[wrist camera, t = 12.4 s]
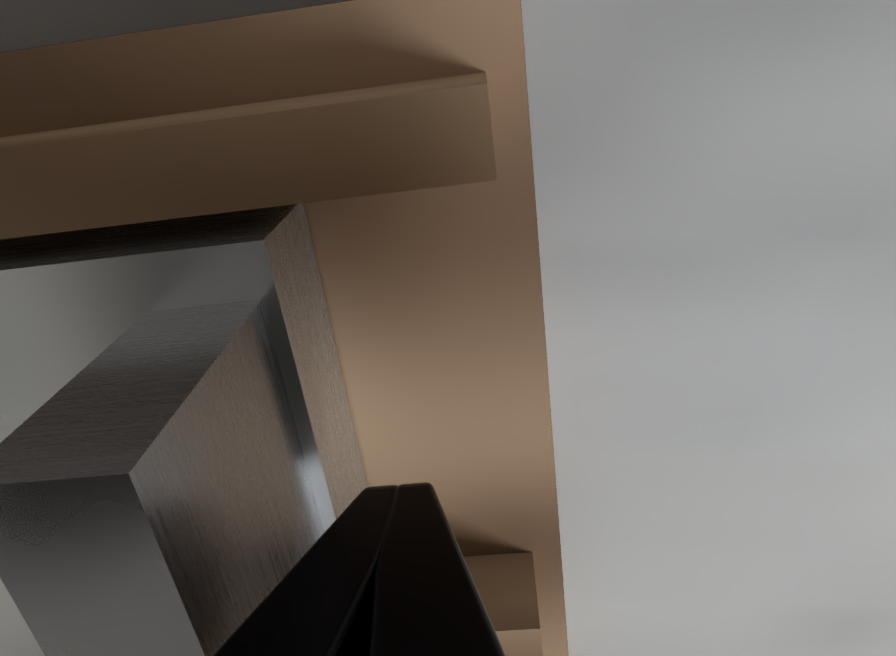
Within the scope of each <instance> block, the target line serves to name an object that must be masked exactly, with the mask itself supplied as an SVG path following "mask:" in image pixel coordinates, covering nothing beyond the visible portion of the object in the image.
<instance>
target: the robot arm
mask: <svg viewBox="0 0 896 656" xmlns="http://www.w3.org/2000/svg"><path fill="white" fill-rule="evenodd" d="M213 656H506V655H505V653H504V650H503V648H502V646H501V643H500V641H499V639H498V636H497V634H496V632H495V629H494V627H493V625H492V622H491V620H490V618H489V615H488V613H487V610H486V608H485V606H484V603H483V601H482V599H481V596H480V594H479V592H478V589H477V587H476V585H475V582H474V580H473V578H472V575H471V573H470V571H469V568H468V566H467V564H466V561H465V559H464V557H463V554H462V552H461V550H460V547H459V545H458V543H457V540H456V538H455V536H454V533H453V531H452V529H451V526H450V524H449V522H448V519H447V517H446V515H445V512H444V510H443V508H442V505H441V503H440V501H439V498H438V496H437V494H436V491H435V489H434V487H433V485H432V484H431V483H429V482H422V483H409V484H401V485H399V486H398V485H383V486H371V487H367V488H365V489H364V490H362V491H361V492H360V493H359V495H358V496H357V497H356V498H355V499H354V500H353V501H352V502H351V503H350V505H349V506H348V507H347V508H346V509H345V510H344V511H343V512H342V513H341V514H340V516H339V517H338V518H337V519H336V520H335V521H334V522H333V523H332V524H331V526H330V527H329V528H328V529H327V530H326V531H325V532H324V533H323V534H322V535H321V537H320V538H319V539H318V540H317V541H316V542H315V543H314V544H313V545H312V547H311V548H310V549H309V550H308V551H307V552H306V553H305V554H304V555H303V556H302V558H301V559H300V560H299V561H298V562H297V563H296V564H295V565H294V566H293V568H292V569H291V570H290V571H289V572H288V573H287V574H286V575H285V576H284V577H283V579H282V580H281V581H280V582H279V583H278V584H277V585H276V586H275V587H274V589H273V590H272V591H271V592H270V593H269V594H268V595H267V596H266V597H265V598H264V600H263V601H262V602H261V603H260V604H259V605H258V606H257V607H256V608H255V610H254V611H253V612H252V613H251V614H250V615H249V616H248V617H247V618H246V619H245V621H244V622H243V623H242V624H241V625H240V626H239V627H238V628H237V629H236V631H235V632H234V633H233V634H232V635H231V636H230V637H229V638H228V639H227V640H226V642H225V643H224V644H223V645H222V646H221V647H220V648H219V649H218V650H217V652H216V653H215V654H214V655H213Z"/></svg>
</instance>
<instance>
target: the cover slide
mask: <svg viewBox="0 0 896 656" xmlns="http://www.w3.org/2000/svg"><path fill="white" fill-rule="evenodd" d="M367 487H368V486H367V482H366V478H365V473H364V469H363V464H362V460H361V456H360V451H359V447H358V442H357V438H356V434H355V429H354V425H353V420H352V416H351V412H350V407H349V403H348V398H347V394H346V390H345V385H344V381H343V376H342V372H341V368H340V363H339V359H338V355H337V350H336V346H335V341H334V337H333V333H332V328H331V324H330V319H329V315H328V311H327V306H326V302H325V297H324V293H323V289H322V284H321V280H320V275H319V271H318V267H317V262H316V258H315V253H314V249H313V245H312V240H311V236H310V232H309V227H308V223H307V218H306V214H305V210H304V205H303V203H301V204H293V205H285V206H276V207H268V208H259V209H251V210H243V211H234V212H226V213H218V214H209V215H201V216H193V217H184V218H176V219H168V220H159V221H151V222H142V223H134V224H126V225H117V226H109V227H101V228H92V229H84V230H76V231H67V232H59V233H50V234H42V235H34V236H25V237H17V238H9V239H0V656H213V655H214V654H215V653H216V652H217V650H218V649H219V648H220V647H221V646H222V645H223V644H224V643H225V642H226V640H227V639H228V638H229V637H230V636H231V635H232V634H233V633H234V632H235V631H236V629H237V628H238V627H239V626H240V625H241V624H242V623H243V622H244V621H245V619H246V618H247V617H248V616H249V615H250V614H251V613H252V612H253V611H254V610H255V608H256V607H257V606H258V605H259V604H260V603H261V602H262V601H263V600H264V598H265V597H266V596H267V595H268V594H269V593H270V592H271V591H272V590H273V589H274V587H275V586H276V585H277V584H278V583H279V582H280V581H281V580H282V579H283V577H284V576H285V575H286V574H287V573H288V572H289V571H290V570H291V569H292V568H293V566H294V565H295V564H296V563H297V562H298V561H299V560H300V559H301V558H302V556H303V555H304V554H305V553H306V552H307V551H308V550H309V549H310V548H311V547H312V545H313V544H314V543H315V542H316V541H317V540H318V539H319V538H320V537H321V535H322V534H323V533H324V532H325V531H326V530H327V529H328V528H329V527H330V526H331V524H332V523H333V522H334V521H335V520H336V519H337V518H338V517H339V516H340V514H341V513H342V512H343V511H344V510H345V509H346V508H347V507H348V506H349V505H350V503H351V502H352V501H353V500H354V499H355V498H356V497H357V496H358V495H359V493H360V492H361V491H362V490H364V489H365V488H367Z"/></svg>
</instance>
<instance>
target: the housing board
mask: <svg viewBox="0 0 896 656" xmlns="http://www.w3.org/2000/svg"><path fill="white" fill-rule="evenodd" d="M301 203H303V205H304V210H305V214H306V218H307V223H308V227H309V232H310V236H311V240H312V245H313V249H314V253H315V258H316V262H317V267H318V271H319V275H320V280H321V284H322V289H323V293H324V297H325V302H326V306H327V311H328V315H329V319H330V324H331V328H332V333H333V337H334V341H335V346H336V350H337V355H338V359H339V363H340V368H341V372H342V376H343V381H344V385H345V390H346V394H347V398H348V403H349V407H350V412H351V416H352V420H353V425H354V429H355V434H356V438H357V442H358V447H359V451H360V456H361V460H362V464H363V469H364V473H365V478H366V482H367V486H368V487H371V486H383V485H398V486H399V485H401V484H409V483H422V482H429V483H431V484H432V485H433V487H434V489H435V491H436V494H437V496H438V498H439V501H440V503H441V505H442V508H443V510H444V512H445V515H446V517H447V519H448V522H449V524H450V526H451V529H452V531H453V533H454V536H455V538H456V540H457V543H458V545H459V547H460V550H461V552H462V554H463V557H464V559H465V561H466V564H467V566H468V568H469V571H470V573H471V575H472V578H473V580H474V582H475V585H476V587H477V589H478V592H479V594H480V596H481V599H482V601H483V603H484V606H485V608H486V610H487V613H488V615H489V618H490V620H491V622H492V625H493V627H494V629H495V632H496V634H497V636H498V639H499V641H500V643H501V646H502V648H503V650H504V653H505V655H506V656H568V643H567V629H566V615H565V601H564V588H563V574H562V560H561V546H560V533H559V519H558V505H557V491H556V477H555V464H554V450H553V436H552V422H551V408H550V395H549V381H548V367H547V353H546V340H545V326H544V312H543V298H542V284H541V271H540V257H539V243H538V229H537V215H536V202H535V188H534V174H533V160H532V146H531V133H530V119H529V105H528V91H527V78H526V64H525V50H524V36H523V22H522V9H521V0H352V1H345V2H338V3H331V4H325V5H318V6H311V7H304V8H298V9H291V10H284V11H277V12H270V13H264V14H257V15H250V16H243V17H237V18H230V19H223V20H216V21H210V22H203V23H196V24H189V25H183V26H176V27H169V28H162V29H155V30H149V31H142V32H135V33H128V34H122V35H115V36H108V37H101V38H95V39H88V40H81V41H74V42H68V43H61V44H54V45H47V46H40V47H34V48H27V49H20V50H13V51H7V52H0V239H9V238H17V237H25V236H34V235H42V234H50V233H59V232H67V231H76V230H84V229H92V228H101V227H109V226H117V225H126V224H134V223H142V222H151V221H159V220H168V219H176V218H184V217H193V216H201V215H209V214H218V213H226V212H234V211H243V210H251V209H259V208H268V207H276V206H285V205H293V204H301Z"/></svg>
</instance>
